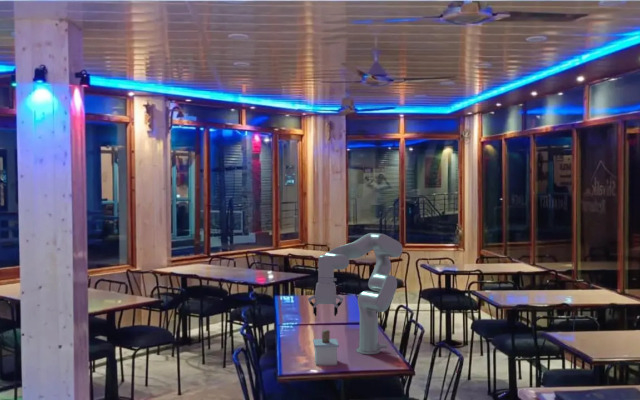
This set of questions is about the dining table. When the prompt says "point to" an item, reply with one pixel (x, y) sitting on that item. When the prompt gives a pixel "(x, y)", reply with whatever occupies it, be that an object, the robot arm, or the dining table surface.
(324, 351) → the storage box
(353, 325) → the dining table surface
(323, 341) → the lid
